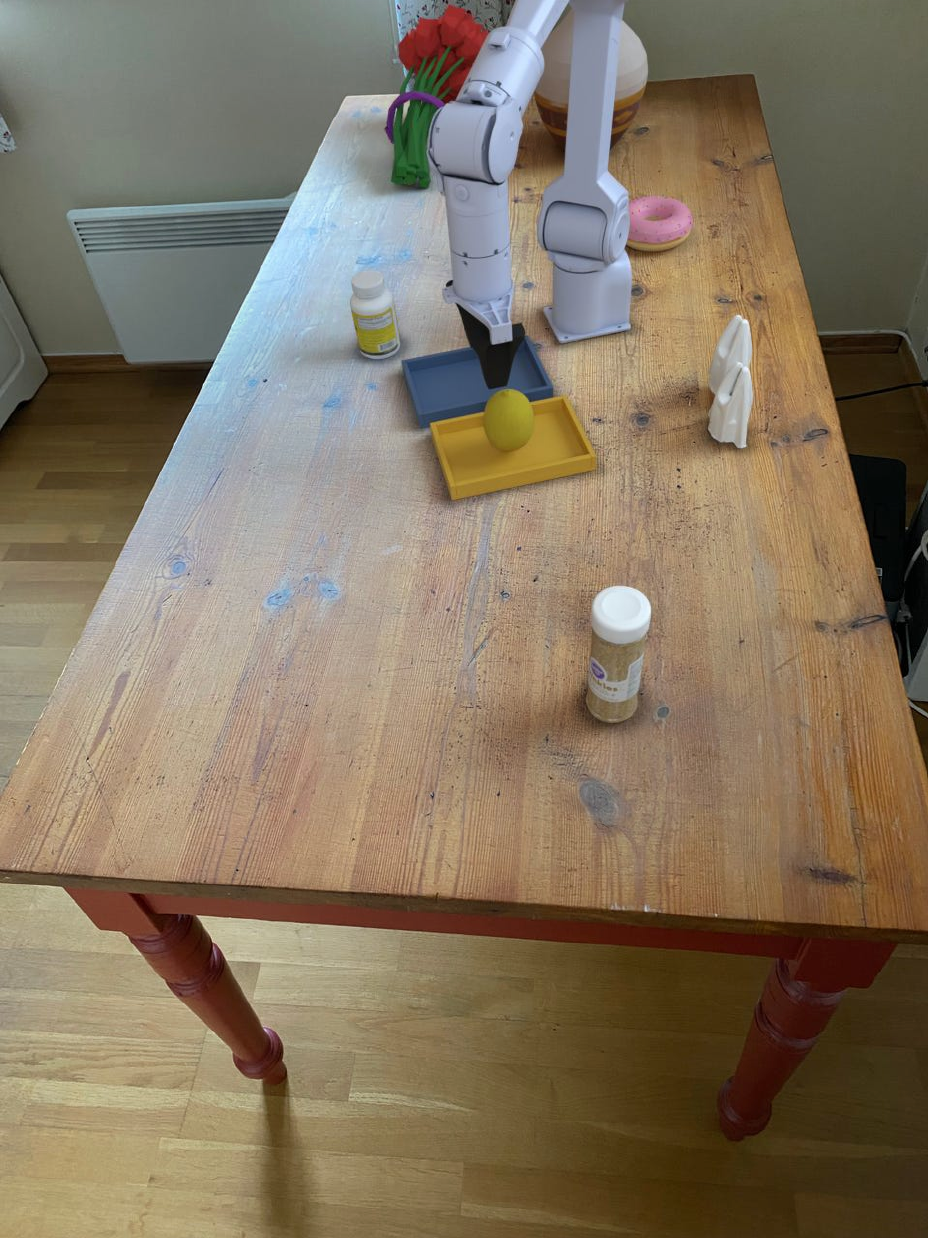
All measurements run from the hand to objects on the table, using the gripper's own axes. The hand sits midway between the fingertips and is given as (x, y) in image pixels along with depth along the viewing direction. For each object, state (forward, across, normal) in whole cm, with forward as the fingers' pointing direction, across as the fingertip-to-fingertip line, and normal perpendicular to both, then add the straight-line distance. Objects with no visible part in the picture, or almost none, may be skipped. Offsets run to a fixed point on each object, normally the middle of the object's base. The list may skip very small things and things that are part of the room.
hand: (488, 364), depth 94 cm
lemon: (+10, +3, +1) cm, 10 cm away
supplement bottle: (+10, -22, -10) cm, 26 cm away
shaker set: (+10, +4, +26) cm, 29 cm away
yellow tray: (+10, +3, +1) cm, 10 cm away
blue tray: (+10, -10, 0) cm, 14 cm away
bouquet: (+10, -75, +9) cm, 76 cm away
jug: (+10, -66, +33) cm, 74 cm away
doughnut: (+10, -36, +33) cm, 49 cm away
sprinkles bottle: (+10, +38, +1) cm, 40 cm away
